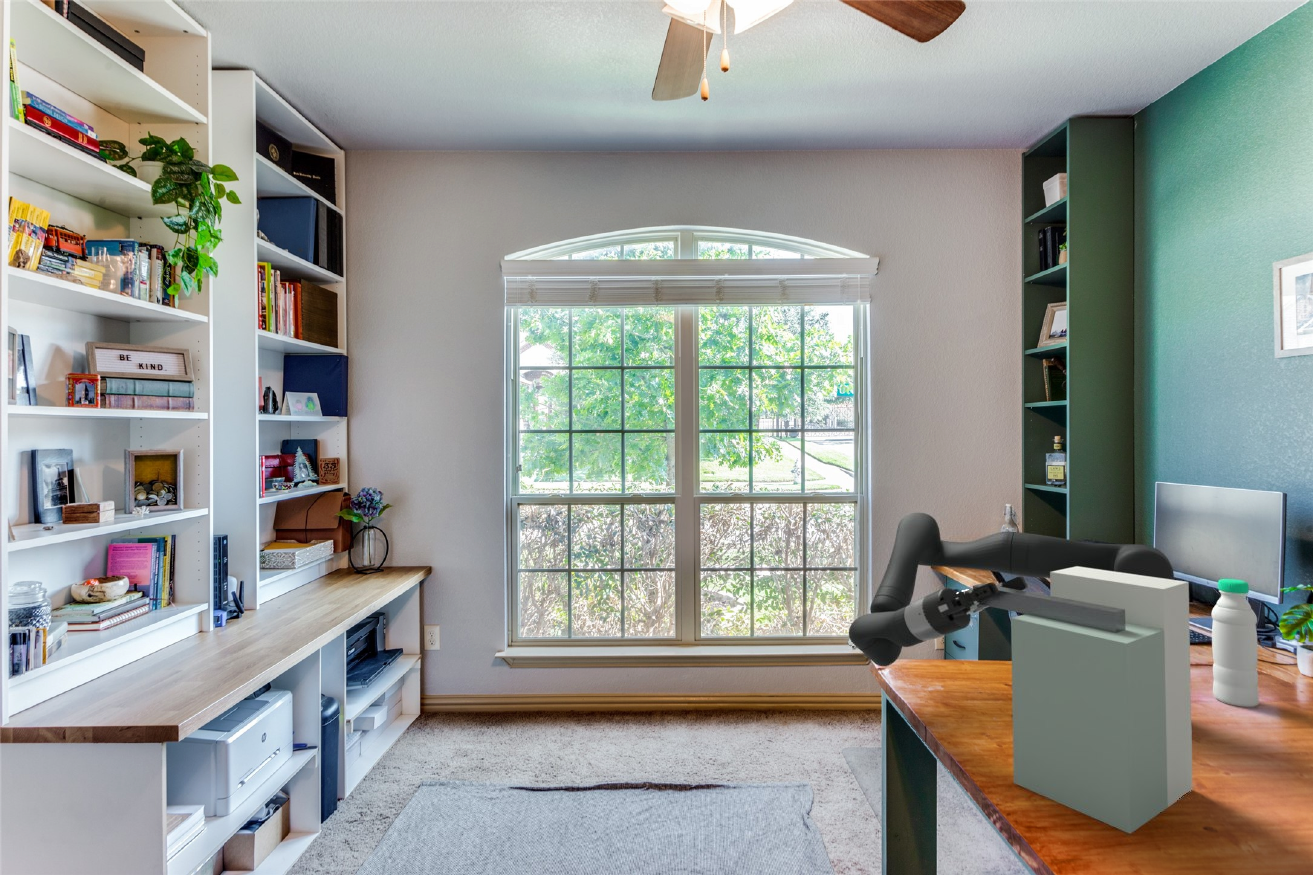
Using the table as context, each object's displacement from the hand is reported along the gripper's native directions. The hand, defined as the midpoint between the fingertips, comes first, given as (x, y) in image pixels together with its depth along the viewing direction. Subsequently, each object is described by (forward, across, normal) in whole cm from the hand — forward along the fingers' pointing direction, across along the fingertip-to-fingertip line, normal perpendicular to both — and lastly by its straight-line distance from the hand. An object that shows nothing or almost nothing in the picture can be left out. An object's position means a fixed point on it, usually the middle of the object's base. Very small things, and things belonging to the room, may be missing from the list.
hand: (1010, 584), depth 109 cm
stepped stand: (-5, +4, +32) cm, 32 cm away
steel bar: (+3, 0, +6) cm, 7 cm away
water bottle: (-6, +64, +31) cm, 72 cm away
